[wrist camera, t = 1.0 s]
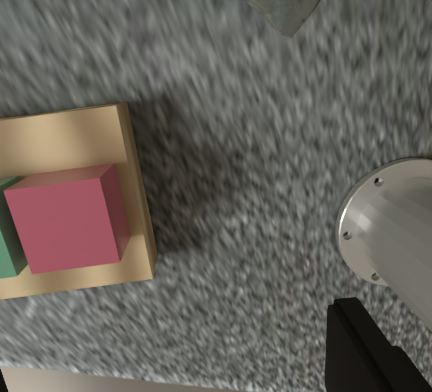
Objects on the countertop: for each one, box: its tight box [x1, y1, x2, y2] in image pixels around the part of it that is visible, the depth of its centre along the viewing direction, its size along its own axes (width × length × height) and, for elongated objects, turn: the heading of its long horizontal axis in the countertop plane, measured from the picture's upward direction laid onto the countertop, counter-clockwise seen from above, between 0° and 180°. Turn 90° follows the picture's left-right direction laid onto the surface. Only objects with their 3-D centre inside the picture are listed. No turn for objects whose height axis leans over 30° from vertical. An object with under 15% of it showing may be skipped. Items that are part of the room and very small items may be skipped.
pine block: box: [0, 102, 158, 299], centre depth 28 cm, size 16×14×4 cm
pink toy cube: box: [3, 163, 131, 274], centre depth 24 cm, size 6×6×4 cm
